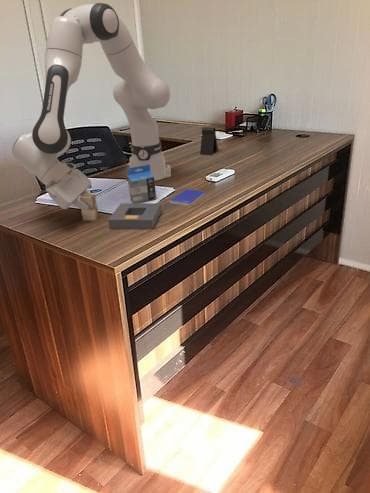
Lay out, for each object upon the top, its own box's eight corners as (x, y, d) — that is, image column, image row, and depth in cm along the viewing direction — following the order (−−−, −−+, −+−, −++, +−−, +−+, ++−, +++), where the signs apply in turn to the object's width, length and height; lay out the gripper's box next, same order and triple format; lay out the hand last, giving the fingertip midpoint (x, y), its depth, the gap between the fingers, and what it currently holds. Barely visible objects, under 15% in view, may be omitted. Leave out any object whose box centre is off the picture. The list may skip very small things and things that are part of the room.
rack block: (121, 211, 148) (120, 203, 146) (161, 211, 145) (160, 203, 144) (109, 228, 135) (108, 219, 134) (152, 228, 133) (151, 219, 132)
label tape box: (133, 204, 153) (129, 170, 148) (130, 200, 157) (126, 168, 151) (156, 199, 156) (153, 166, 151) (152, 196, 160) (149, 163, 154)
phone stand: (211, 155, 206) (210, 130, 201) (200, 154, 209) (199, 129, 203) (218, 150, 213) (217, 126, 208) (207, 149, 216) (206, 125, 210)
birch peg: (87, 215, 146) (83, 193, 142) (98, 215, 145) (95, 193, 142) (83, 220, 142) (79, 197, 139) (94, 220, 142) (90, 197, 138)
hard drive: (189, 203, 149) (204, 191, 158) (168, 200, 152) (185, 188, 162) (189, 207, 149) (204, 195, 159) (169, 204, 153) (185, 192, 162)
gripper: (48, 180, 128) (84, 211, 131) (74, 161, 146) (105, 188, 149) (37, 194, 131) (73, 224, 134) (64, 174, 149) (95, 200, 152)
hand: (90, 205), depth 142 cm, fingers closed on birch peg, 4 cm apart
